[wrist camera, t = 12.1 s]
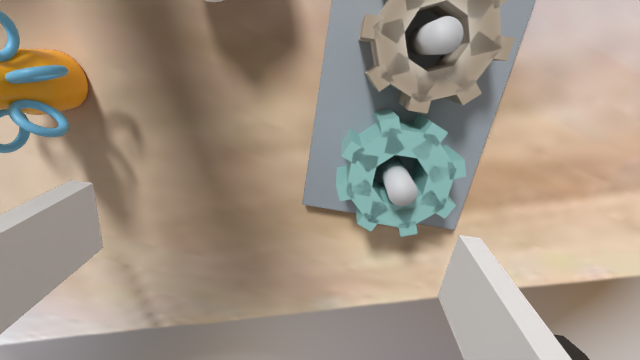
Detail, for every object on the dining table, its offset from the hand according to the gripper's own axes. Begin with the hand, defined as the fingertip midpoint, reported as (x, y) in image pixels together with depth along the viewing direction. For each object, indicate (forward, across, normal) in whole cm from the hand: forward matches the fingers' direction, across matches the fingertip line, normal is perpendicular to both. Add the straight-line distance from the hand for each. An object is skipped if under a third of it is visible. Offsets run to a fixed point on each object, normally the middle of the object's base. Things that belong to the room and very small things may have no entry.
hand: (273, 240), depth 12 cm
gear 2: (+21, +8, -3) cm, 23 cm away
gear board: (+23, +9, +2) cm, 25 cm away
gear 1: (+22, +9, +8) cm, 25 cm away
